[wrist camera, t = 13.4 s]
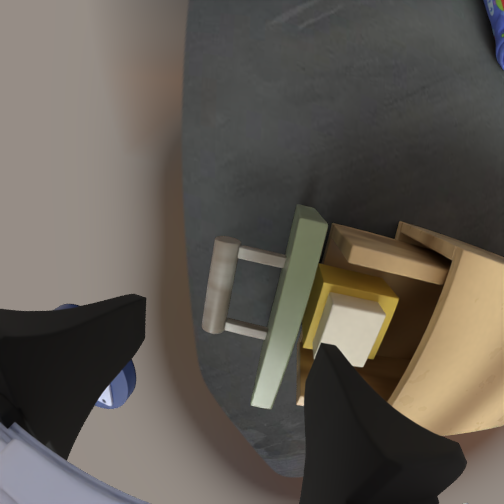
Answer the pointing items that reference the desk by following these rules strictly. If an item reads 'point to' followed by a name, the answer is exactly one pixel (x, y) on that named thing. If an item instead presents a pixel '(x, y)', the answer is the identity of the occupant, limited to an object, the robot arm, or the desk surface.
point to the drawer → (298, 291)
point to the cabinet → (457, 343)
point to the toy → (348, 313)
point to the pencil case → (497, 26)
